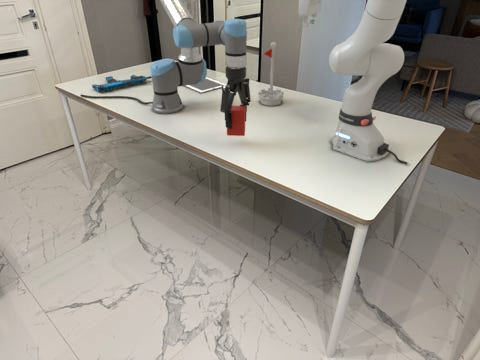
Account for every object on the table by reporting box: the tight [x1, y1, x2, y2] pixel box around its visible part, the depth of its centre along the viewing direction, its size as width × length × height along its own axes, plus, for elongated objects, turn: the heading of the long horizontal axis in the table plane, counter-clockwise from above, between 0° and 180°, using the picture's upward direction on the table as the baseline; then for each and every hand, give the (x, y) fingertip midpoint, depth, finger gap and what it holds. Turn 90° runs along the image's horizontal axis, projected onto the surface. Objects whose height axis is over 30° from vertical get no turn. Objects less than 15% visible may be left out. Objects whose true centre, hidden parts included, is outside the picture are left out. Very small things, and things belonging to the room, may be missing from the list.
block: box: [226, 105, 246, 137], centre depth 135 cm, size 5×7×11 cm
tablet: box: [185, 76, 227, 94], centre depth 207 cm, size 32×20×1 cm, turn 41°
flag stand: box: [258, 41, 285, 107], centre depth 172 cm, size 13×13×30 cm
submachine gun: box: [91, 74, 152, 93], centre depth 206 cm, size 34×4×25 cm
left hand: (236, 124), depth 135 cm, fingers closed on block, 8 cm apart
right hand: (308, 25), depth 151 cm, fingers open, 8 cm apart
